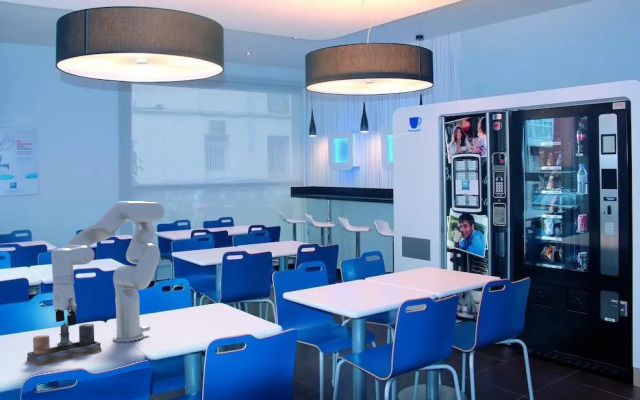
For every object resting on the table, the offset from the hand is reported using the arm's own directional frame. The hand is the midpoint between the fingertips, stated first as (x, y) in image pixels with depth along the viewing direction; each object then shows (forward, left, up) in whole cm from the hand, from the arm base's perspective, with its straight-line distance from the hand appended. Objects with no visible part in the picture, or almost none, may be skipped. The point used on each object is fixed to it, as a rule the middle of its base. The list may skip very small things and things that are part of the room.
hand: (66, 323), depth 237 cm
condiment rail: (+1, 0, -13) cm, 13 cm away
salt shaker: (+1, 0, -12) cm, 12 cm away
